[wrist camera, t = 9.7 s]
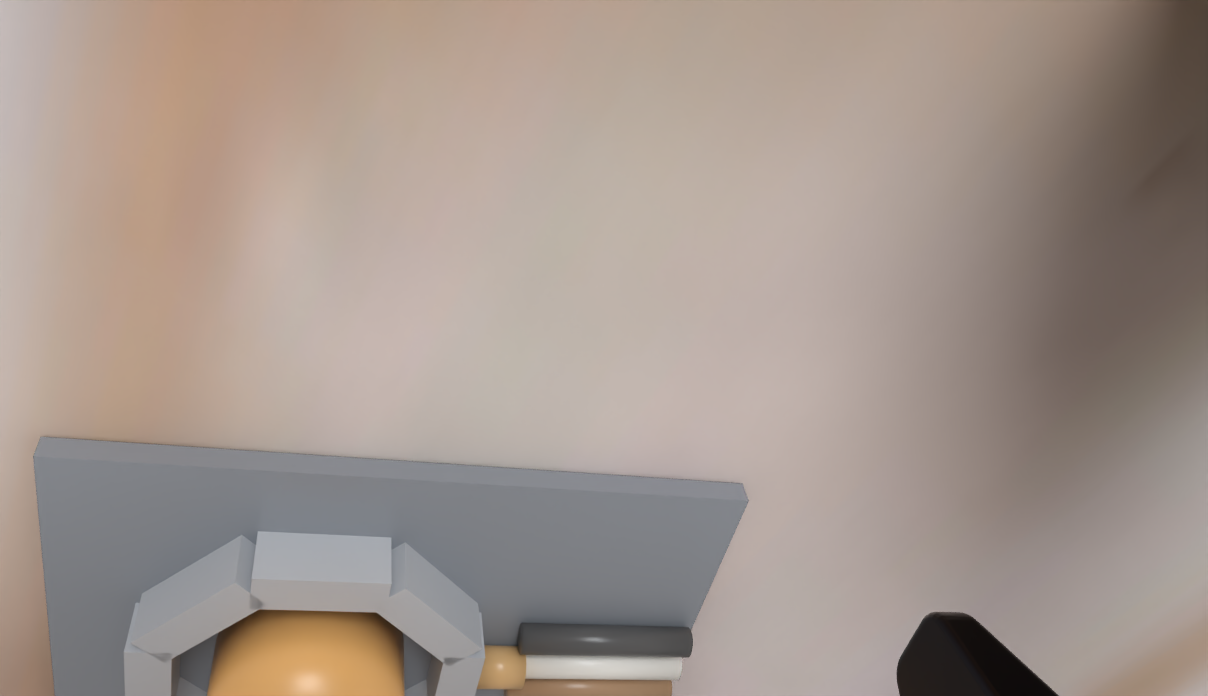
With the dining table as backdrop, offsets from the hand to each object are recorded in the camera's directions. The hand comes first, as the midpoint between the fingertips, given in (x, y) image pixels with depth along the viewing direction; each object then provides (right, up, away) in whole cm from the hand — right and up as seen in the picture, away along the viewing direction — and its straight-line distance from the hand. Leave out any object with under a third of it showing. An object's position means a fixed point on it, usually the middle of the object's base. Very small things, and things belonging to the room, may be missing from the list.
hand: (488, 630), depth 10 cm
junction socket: (-5, -5, +18) cm, 19 cm away
